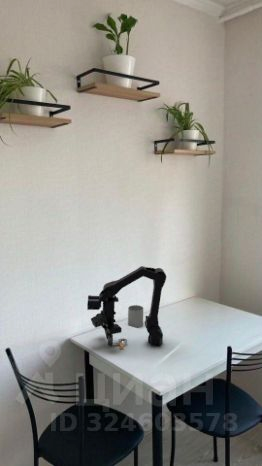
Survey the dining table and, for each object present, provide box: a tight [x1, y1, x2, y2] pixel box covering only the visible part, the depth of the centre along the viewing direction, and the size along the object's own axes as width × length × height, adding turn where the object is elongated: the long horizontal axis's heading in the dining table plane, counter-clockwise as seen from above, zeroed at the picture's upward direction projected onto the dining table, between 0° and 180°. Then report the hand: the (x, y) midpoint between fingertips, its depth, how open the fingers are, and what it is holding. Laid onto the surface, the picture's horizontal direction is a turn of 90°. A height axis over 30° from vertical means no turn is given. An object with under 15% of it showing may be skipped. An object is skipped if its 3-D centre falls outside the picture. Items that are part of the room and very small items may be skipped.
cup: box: [127, 304, 144, 329], centre depth 219 cm, size 8×8×10 cm
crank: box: [107, 334, 128, 347], centre depth 191 cm, size 10×4×6 cm, turn 114°
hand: (107, 338), depth 192 cm, fingers closed
